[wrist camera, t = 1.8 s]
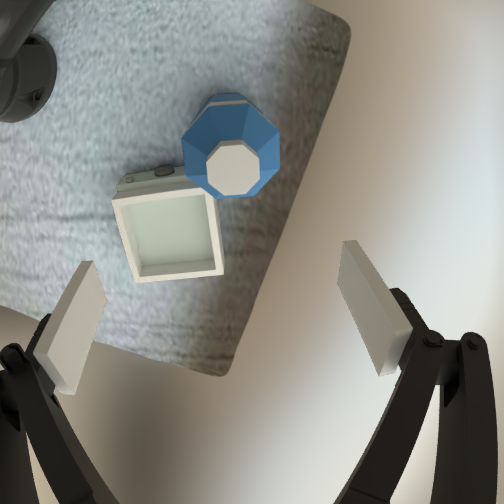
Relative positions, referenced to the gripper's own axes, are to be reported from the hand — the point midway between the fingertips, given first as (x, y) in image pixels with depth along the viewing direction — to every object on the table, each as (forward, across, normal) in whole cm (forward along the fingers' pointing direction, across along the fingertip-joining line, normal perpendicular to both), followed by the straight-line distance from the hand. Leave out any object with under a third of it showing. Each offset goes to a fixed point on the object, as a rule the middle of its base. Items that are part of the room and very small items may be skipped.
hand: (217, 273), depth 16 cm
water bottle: (+35, +1, +2) cm, 35 cm away
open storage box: (+34, -8, -12) cm, 37 cm away
